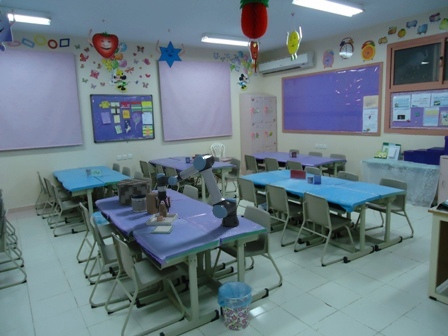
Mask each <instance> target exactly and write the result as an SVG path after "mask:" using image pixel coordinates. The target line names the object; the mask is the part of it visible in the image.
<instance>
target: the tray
mask: <svg viewBox="0 0 448 336" xmlns="http://www.w3.org/2000/svg"><path fill="white" fill-rule="evenodd" d="M157 216H159V213H156V214H152V215H151V216H150V218H149V219H147V220H146V221H145V225H146V226H173V224H174V223H175V221H176V220H177V219H178V217H179V213H168V216H167V217H166V218H163V221H164V222H157Z"/></svg>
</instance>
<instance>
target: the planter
mask: <svg viewBox="0 0 448 336" xmlns="http://www.w3.org/2000/svg"><path fill="white" fill-rule="evenodd" d="M131 200H132V206H131V208H132V212H133V213H136V214H137V213H145V212H146V213H147V203H146V195H136V196H133V197H131Z"/></svg>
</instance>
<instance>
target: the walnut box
mask: <svg viewBox="0 0 448 336" xmlns="http://www.w3.org/2000/svg"><path fill="white" fill-rule="evenodd" d="M166 209H167V207H166V204H165V202H161V204H159V213H158V214H160V216H163V218H166V217H167V213H166Z"/></svg>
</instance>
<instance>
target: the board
mask: <svg viewBox="0 0 448 336" xmlns="http://www.w3.org/2000/svg"><path fill="white" fill-rule="evenodd" d="M175 227H176V225H155V227H154V228H153V229H152V230H151V232H150V235H151V234H153V235H159V234H160V235H164V234H166V235H167V234H171V233H172V231H173V229H174V228H175Z"/></svg>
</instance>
